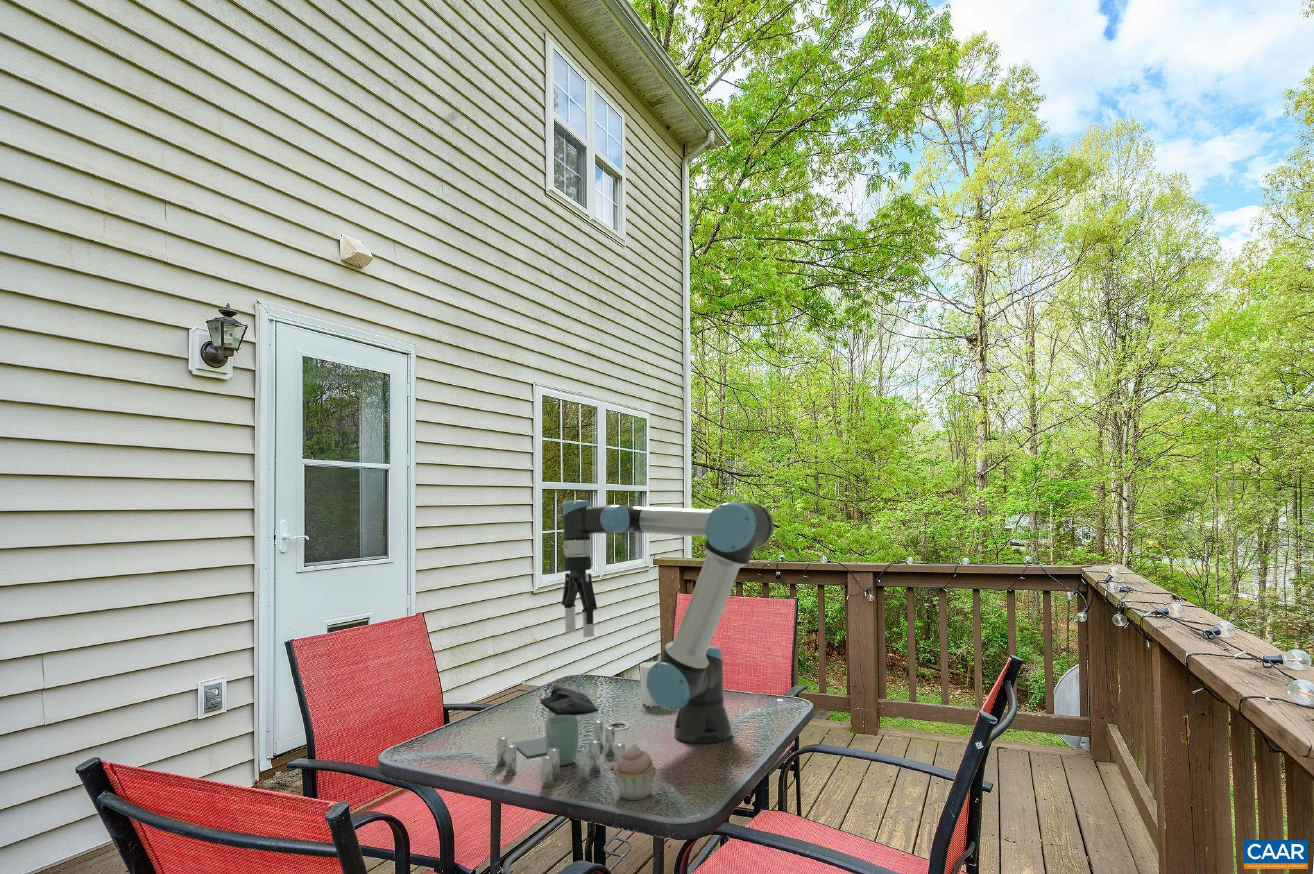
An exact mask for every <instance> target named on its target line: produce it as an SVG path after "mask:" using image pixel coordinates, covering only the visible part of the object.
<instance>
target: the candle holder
mask: <svg viewBox="0 0 1314 874" xmlns="http://www.w3.org/2000/svg"><path fill="white" fill-rule="evenodd" d="M659 661H660V660H659ZM659 661H655V660H654V661H647V662H642V663H639V672H640V685H641V697H642V705H643V704H645V705H648V706H658V705H657V704H656V703H655V702H654V701H653V700H652V698H651V697H650V693H649V691H648V690H647V685H646V678H647V674H648V671H649V669H650V668H651V667H652V666H653V665H654V664H655V663H657V662H659ZM645 705H644V706H645Z"/></svg>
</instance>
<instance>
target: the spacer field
mask: <svg viewBox="0 0 1314 874" xmlns="http://www.w3.org/2000/svg"><path fill="white" fill-rule="evenodd" d="M615 731H616V730H615V727H614V726H605V727H604V720H602V719H595V720H593V740H590V741H589V750H587V749H580V750H578V753H577V781H578V782H579V781H581V782H580V783H585V782H584V781H587V782H588V780H589V781H590V771H592V772H594V771H595V772H596V771H600V770H601V748H603V747H604V749H605V751H604V752H605V753H604V754H605V755H606V754H607V755H606V756H611V755H612V756H613V755H614V760H612V761H611V762H610V769H611V770H612V771H614V769H615V768H617V764H618V761H619V760H620V758H622V756H623V753H624V752H625V750H626V749H628V748H629V747H626V743H624V742H616V734H615V733H616V732H615ZM508 738H509V737H508V736H499V737H497V738H496V739H497V740H496V745H497V748H496V752H497V753H496V765H497V766H498V765H499V766H498V767H503V766H502V765H506V766H505V775H506V774H514V775H516V774H517V748H516V745H515V744H513V743H511V744H508ZM560 767H561V766H560V759H559V748H551V749H549V755H542V757H541V787H542V788H543V789H550V788H549V787H551V788H553V787H554V780H553V779H555V780H558V779H560V778H559V777H561V776H560V775H561V774H560ZM515 773H516V774H515ZM552 786H553V787H552Z"/></svg>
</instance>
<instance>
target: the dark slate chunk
mask: <svg viewBox="0 0 1314 874" xmlns="http://www.w3.org/2000/svg"><path fill="white" fill-rule="evenodd" d="M550 692H551V693H550V696H547V697H543V698H540V702H541V703H542V702H543V704H544V706H546V707H547V708H550V707H551V708H550V709H551V710H553V711H554V712H556V713H558V714H560V715H567V714H583V712H585V714H587V713H594V711H596V712H598V710H599V709H598V708H597V707H596V705H594V703H593V702H592V700H591V699H590V698H589V697H588V696H587V695H586V694H585V693H582V692H579V691H578V692H577V691H575V690H573V689H571V688H567V687H562V686H557V685H555V686H553V687H552V690H551V691H550ZM595 707H596V708H595ZM566 713H567V714H566Z"/></svg>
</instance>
